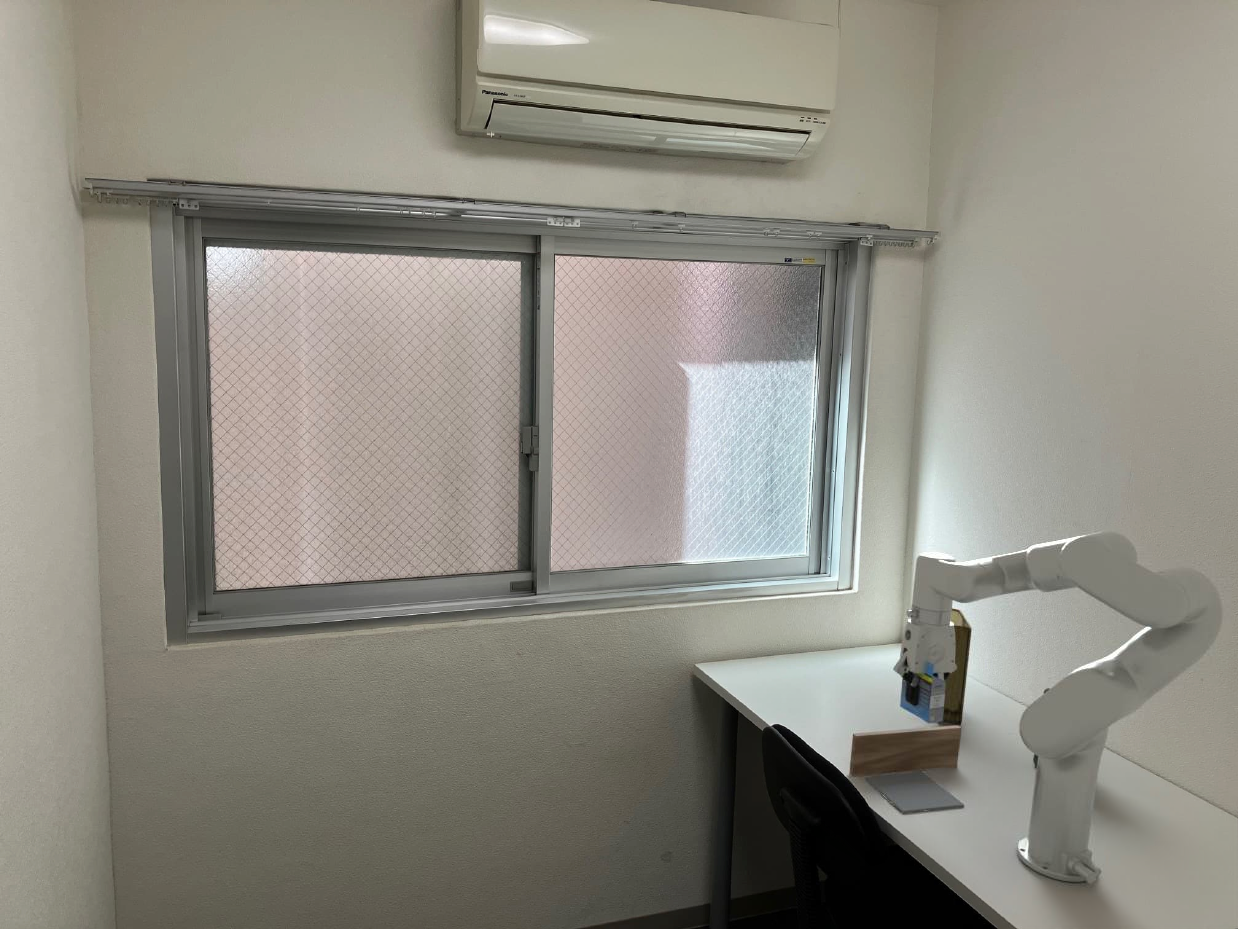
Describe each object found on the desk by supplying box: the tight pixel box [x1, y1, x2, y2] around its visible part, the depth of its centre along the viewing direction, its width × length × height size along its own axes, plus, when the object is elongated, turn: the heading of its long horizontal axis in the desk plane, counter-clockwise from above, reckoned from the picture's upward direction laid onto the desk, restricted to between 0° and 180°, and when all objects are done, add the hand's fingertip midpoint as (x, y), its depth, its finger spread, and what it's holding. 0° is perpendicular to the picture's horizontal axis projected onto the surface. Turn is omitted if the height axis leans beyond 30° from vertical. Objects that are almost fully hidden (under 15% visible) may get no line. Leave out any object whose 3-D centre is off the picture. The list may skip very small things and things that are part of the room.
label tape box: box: [899, 662, 946, 724], centre depth 176 cm, size 9×4×12 cm, turn 22°
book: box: [941, 607, 973, 726], centre depth 220 cm, size 16×6×25 cm, turn 168°
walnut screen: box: [848, 724, 962, 777], centre depth 188 cm, size 1×26×9 cm, turn 106°
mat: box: [863, 770, 965, 814], centre depth 179 cm, size 14×14×1 cm
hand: (921, 701), depth 177 cm, fingers closed on label tape box, 4 cm apart
